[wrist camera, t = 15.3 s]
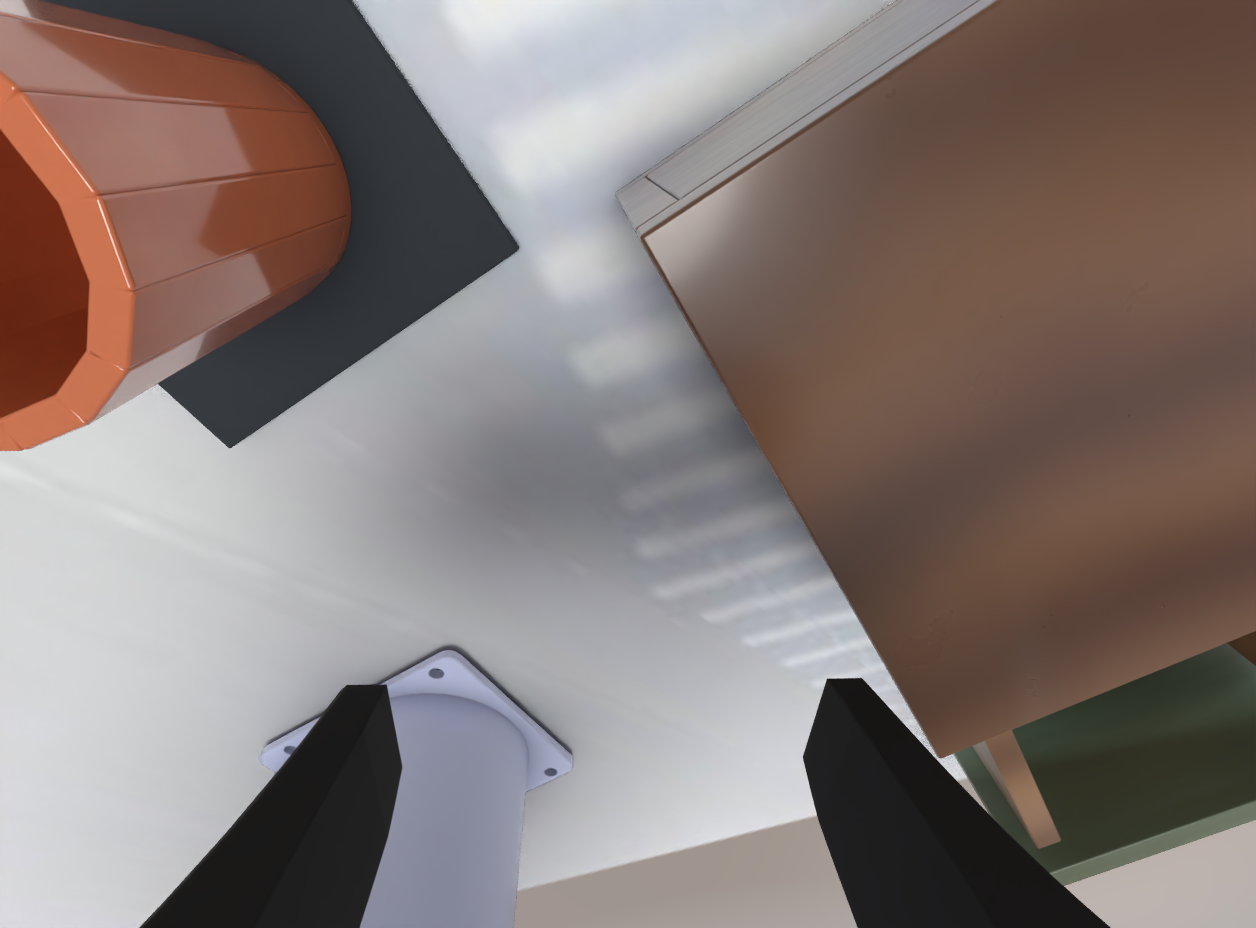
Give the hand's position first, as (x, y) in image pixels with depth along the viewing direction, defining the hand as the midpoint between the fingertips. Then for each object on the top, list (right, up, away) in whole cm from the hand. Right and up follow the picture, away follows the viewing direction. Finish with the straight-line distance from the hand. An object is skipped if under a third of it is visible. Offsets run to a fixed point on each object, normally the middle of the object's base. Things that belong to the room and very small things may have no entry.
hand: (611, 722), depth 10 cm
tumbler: (-9, +11, +4) cm, 14 cm away
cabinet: (+9, +9, +7) cm, 14 cm away
